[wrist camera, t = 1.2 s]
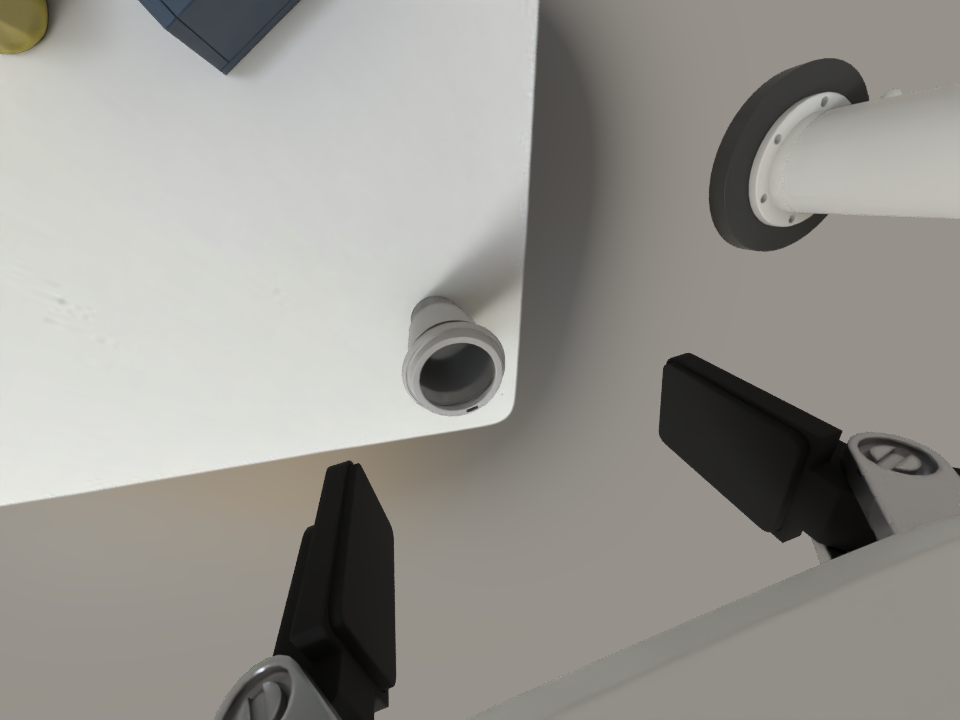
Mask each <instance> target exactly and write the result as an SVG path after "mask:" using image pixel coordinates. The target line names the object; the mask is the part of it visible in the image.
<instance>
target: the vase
mask: <svg viewBox="0 0 960 720" xmlns="http://www.w3.org/2000/svg"><path fill="white" fill-rule="evenodd" d="M47 22H48V10H47V3H46V0H0V53H5V54H14V53H20V52H24V51H26V50H28V49H30V48H32V47H33V46H34V45H35V44H36V43H37V42H38V41H39V40H40V39H41V38H42V37H43V36H44V34H45V31H46V28H47Z"/></svg>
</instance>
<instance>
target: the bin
mask: <svg viewBox="0 0 960 720" xmlns="http://www.w3.org/2000/svg"><path fill="white" fill-rule="evenodd" d="M299 1H300V0H139V2H140V3H141V4H142V5H143V6H144V7H145V8H146V9H147V10H148V11H149V12H150V13H151V15H152V16H153V17H154V18H155V19H156V20H157V21H158V22H159V23H160V24H161V25H162V26H163V28H164V29H166V30H167V31H168V32H170V33H171V34H172V35H174V36H175V37H176V38H178V39H179V40H180V41H181V42H183V43H184V44H185V45H187V46H188V47H189V48H191V49H192V50H193V51H195V52H196V53H197V54H199V55H200V56H201V57H203V58H204V59H205V60H207V61H208V62H209V63H210V64H212V65H213V66H214V67H216V68H217V69H218V70H220V71H221V72H222V73H223V74H225V75H226V74H227V73H228V72H229V71H230V70H231V69H232V68H233V67H234V66H235V65H236V64H237V63H238V62H239V61H240V60H241V59H242V58H243V57H244V56H245V55H246V54H247V53H248V52H249V51H250V50H251V49H252V48H253V47H254V46H255V45H256V44H257V43H258V42H259V41H260V40H261V39H262V38H263V37H264V36H265V35H266V34H267V33H268V32H269V31H270V30H271V29H272V28H273V27H274V26H275V25H276V24H277V23H278V22H279V21H280V20H281V19H282V18H283V17H284V16H285V15H286V14H287V13H288V12H289V11H290V10H291V9H292V8H293V7H294V6H295V5H296V4H297V3H298V2H299Z"/></svg>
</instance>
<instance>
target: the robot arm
mask: <svg viewBox="0 0 960 720" xmlns="http://www.w3.org/2000/svg"><path fill="white" fill-rule="evenodd" d="M749 199H750V205H751V208H752V210H753V212H754V214H755V216H756V217H757V218H758V219H759V220H760V221H761V222H763V223H764V224H766V225H770V226H778V227H787V226H792V225H795V224H798V223H800V222H802V221H804V220H806V219H807V218H809V217H810V216H812V215H813V214H814V213H820V214H848V215H876V216H905V217H934V218H960V83H958V84H952V85H947V86H942V87H937V88H932V89H928V90H923V91H918V92H913V93H908V94H903V93H902V91H901V90H899V89H892V90H890V91H888V92H887V93H886V94H885V95H883V96H882V97H881V98H879V99H878V100H873V101H868V102H863V103H858V104H853V105H852V104H851V103H850V102H849V100H848V99H847V98H846V97H845V96H843V95H841V94H839V93H834V92H825V93H820V94H815V95H812V96H809V97H806V98H804V99H802V100H800V101H798V102H796V103H795V104H793V105H792V106H791V107H790V108H789V109H787V110H786V111H785V112H784V113H783V114H782V115H781V116H780V117H779V118H778V119H777V120H776V122H775V123H774V124H773V126H772V127H771V128H770V130H769V131H768V133H767V134H766V136H765V138H764V139H763V141H762V143H761V145H760V147H759V149H758V151H757V154H756V156H755V159H754V162H753V165H752V169H751V172H750V179H749ZM841 433H842V430H840V429H838V428H836V427H834V426H832V425H830V424H828V423H826V422H824V421H822V420H820V419H818V418H816V417H814V416H812V415H810V414H809V413H807V412H805V411H803V410H801V409H799V408H797V407H795V406H793V405H791V404H789V403H787V402H785V401H783V400H781V399H779V398H777V397H775V396H773V395H771V394H770V393H768V392H766V391H763V390H762V389H760V388H758V387H756V386H754V385H752V384H750V383H748V382H746V381H744V380H742V379H740V378H738V377H736V376H734V375H732V374H730V373H728V372H727V371H724V370H723V369H720V368H719V367H717V366H715V365H713V364H711V363H709V362H707V361H705V360H703V359H701V358H699V357H697V356H695V355H693V354H691V353H685V354H682V355H679V356H676V357H673V358H670V359H668V361H667V363H666V365H665V366H664V368H663V378H662V392H661V406H660V422H659V435H660V438H661V439H662V441H663V442H664V443H665V444H666V445H667V446H668V447H669V448H670V449H672V450H673V451H674V452H675V453H676V454H677V455H678V456H679V457H681V458H682V459H683V460H684V461H685V462H686V463H687V464H688V465H690V466H691V467H692V468H693V469H694V470H695V471H697V472H698V473H699V474H700V475H701V476H702V477H703V478H704V479H705V480H706V481H708V482H709V483H710V484H711V485H712V486H713V487H714V488H716V489H717V490H718V491H719V492H720V493H721V494H722V495H723V496H725V497H726V498H727V499H728V500H729V501H730V502H731V503H733V504H734V505H735V506H736V507H737V508H738V509H739V510H740V511H742V512H743V513H744V514H745V515H746V516H747V517H748V518H749V519H751V520H752V521H753V522H754V523H755V524H756V525H757V526H759V527H760V528H761V529H762V530H764V531H766V532H771V533H772V534H773V535H774V536H775V537H776V538H778V539H779V540H780V541H781V542H782V543H784V542H786V541H788V540H791V539H793V538H795V537H798V536H800V535H801V533H802V531H804V532H805V533H807V534H808V535H809V536H810V537H811V538H812V541H813V544H814V547H815V550H816V553H817V556H818V559H819V562H820V565H818V566H816V567H814V568H811V569H809V570H806V571H804V572H802V573H800V574H797V575H795V576H792V577H790V578H788V579H785V580H783V581H781V582H778V583H776V584H774V585H771V586H769V587H766V588H764V589H762V590H760V591H757V592H755V593H752V594H750V595H748V596H745V597H743V598H741V599H738V600H736V601H734V602H731V603H729V604H727V605H725V606H722V607H720V608H717V609H716V610H713V611H711V612H708V613H706V614H704V615H701V616H699V617H697V618H694V619H692V620H690V621H687V622H685V623H683V624H680V625H678V626H676V627H674V628H671V629H669V630H667V631H664V632H662V633H660V634H657V635H655V636H653V637H650V638H648V639H646V640H643V641H641V642H639V643H637V644H634V645H632V646H630V647H627V648H625V649H623V650H620V651H618V652H616V653H614V654H611V655H609V656H607V657H605V658H602V659H600V660H598V661H596V662H594V663H591V664H589V665H586V666H584V667H582V668H579V669H577V670H575V671H573V672H570V673H568V674H566V675H563V676H561V677H559V678H557V679H554V680H552V681H550V682H548V683H545V684H543V685H541V686H538V687H536V688H534V689H532V690H529V691H527V692H525V693H522V694H520V695H518V696H516V697H513V698H511V699H509V700H507V701H504V702H502V703H500V704H498V705H496V706H494V707H492V708H489V709H487V710H485V711H483V712H481V713H479V714H476V715H474V716H472V717H470V718H468V719H466V720H960V469H959V468H953V467H951V466H950V464H949V463H948V462H947V461H946V460H945V459H944V458H943V457H941V456H940V455H939V454H938V453H936V452H935V451H933V450H931V449H930V448H928V447H926V446H924V445H922V444H920V443H917V442H915V441H912V440H910V439H906V438H903V437H900V436H896V435H891V434H885V433H875V432H866V433H859V434H856V435H854V436H852V437H850V439H849V441H848V443H847V444H846V443H844V442H842V441H840V440H839V438H840V436H841ZM394 587H395V586H394V537H393V531H392V527H391V525H390V523H389V520H388V519H387V517H386V514H385V513H384V510H383V508H382V506H381V505H380V502H379V501H378V498H377V496H376V494H375V493H374V491H373V488H372V486H371V484H370V482H369V480H368V478H367V476H366V474H365V472H364V470H363V468H362V467H361V465H360V464H359V463H357V464H353V463H352V462H351V461H346V462H343V463H340V464H337V465H333V466H330V467H328V469H327V471H326V475H325V480H324V484H323V489H322V493H321V497H320V502H319V506H318V511H317V516H316V520H315V525H313V526H310V527H308V528H307V529H306V531H305V532H304V535H303V538H302V542H301V546H300V550H299V554H298V558H297V562H296V566H295V570H294V574H293V578H292V582H291V586H290V590H289V594H288V598H287V601H286V606H285V609H284V614H283V618H282V622H281V625H280V629H279V634H278V637H277V642H276V646H275V649H274V653H273V657H269V658H266V659H265V660H263V661H261V662H260V663H258V664H256V665H255V666H253V667H252V668H251V669H250V670H249V671H248V672H246V674H244V675H243V676H242V677H241V678H240V679H239V680H238V681H237V683H236V684H235V685H234V686H233V688H232V689H231V690H230V691H229V693H228V694H227V695H226V697H225V699H224V701H223V702H222V704H221V705H220V707H219V709H218V711H217V713H216V715H215V718H214V720H374V713H375V712H377V711H379V710H381V709H384V708H387V707H388V705H389V704H388V703H389V701H388V699H389V697H388V689H389V688H391V687H393V686H394V685H395V682H396V649H395V647H396V643H395V589H394Z"/></svg>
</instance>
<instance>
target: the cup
mask: <svg viewBox="0 0 960 720" xmlns="http://www.w3.org/2000/svg"><path fill="white" fill-rule="evenodd" d="M504 371H505V355H504V350H503V347H502V345H501V343H500V341H499V340H498V338H497V337H496V336H495V335H494V334H493V333H492V332H491V331H489V330H488V329H486V328H484V327H482V326H480V325H477V324H476V323H475V322H474V321H473V320H472V319H471V318H470V317H469V316H468V315H467V314H466V313H465V312H463V311H462V310H461V309H460V308H458V307H456V306H455V305H454V304H453V303H452V302H451V301H450V300H448V299H446V298H444V297H439V296H433V297H428V298H425V299H424V300H422V301H420V302H419V303H418V304H417V305H416V307H415V308H414V310H413V312H412V316H411V325H410V328H409V343H408V352H407V354H406V356H405V359H404V362H403V367H402V379H403V383H404V386H405V388H406V390H407V392H408V394H409V395H410V396H411V398H412V399H413V400H414V401H415V402H416V403H418V404H419V405H420V406H422V407H424V408H426V409H428V410H429V411H431V412H433V413H436V414H439V415H444V416H460V415H466V414H468V413H471V412H474V411H476V410H478V409H479V408H481V407H483V406H484V405H485V404H487V403H488V402H489V401H490V400H491V399H492V398H493V396H494V395H495V394H496V392H497V390H498V389H499V386H500V384H501V381H502V377H503V374H504Z"/></svg>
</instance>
